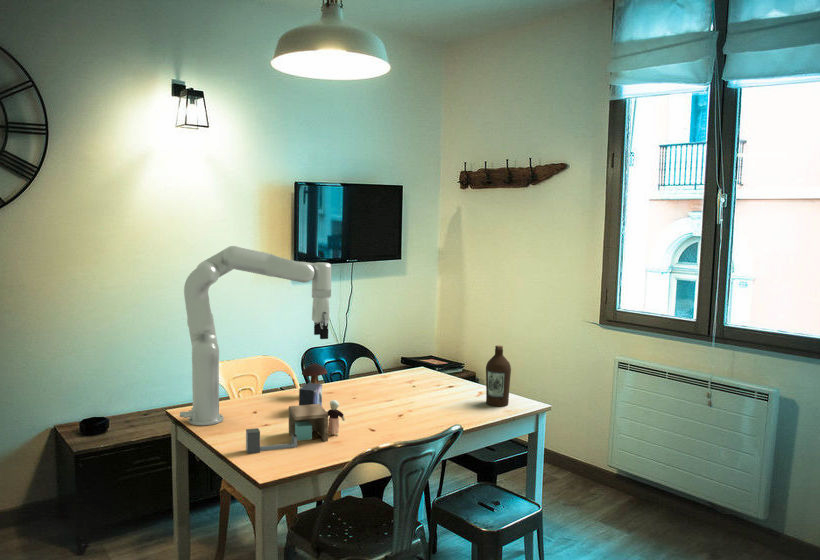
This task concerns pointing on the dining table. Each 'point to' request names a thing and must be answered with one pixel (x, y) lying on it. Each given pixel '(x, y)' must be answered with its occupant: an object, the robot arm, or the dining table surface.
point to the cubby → (310, 418)
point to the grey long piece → (255, 447)
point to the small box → (310, 394)
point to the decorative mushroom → (314, 372)
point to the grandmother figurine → (334, 418)
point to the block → (303, 430)
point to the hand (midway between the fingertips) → (321, 336)
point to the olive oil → (498, 379)
